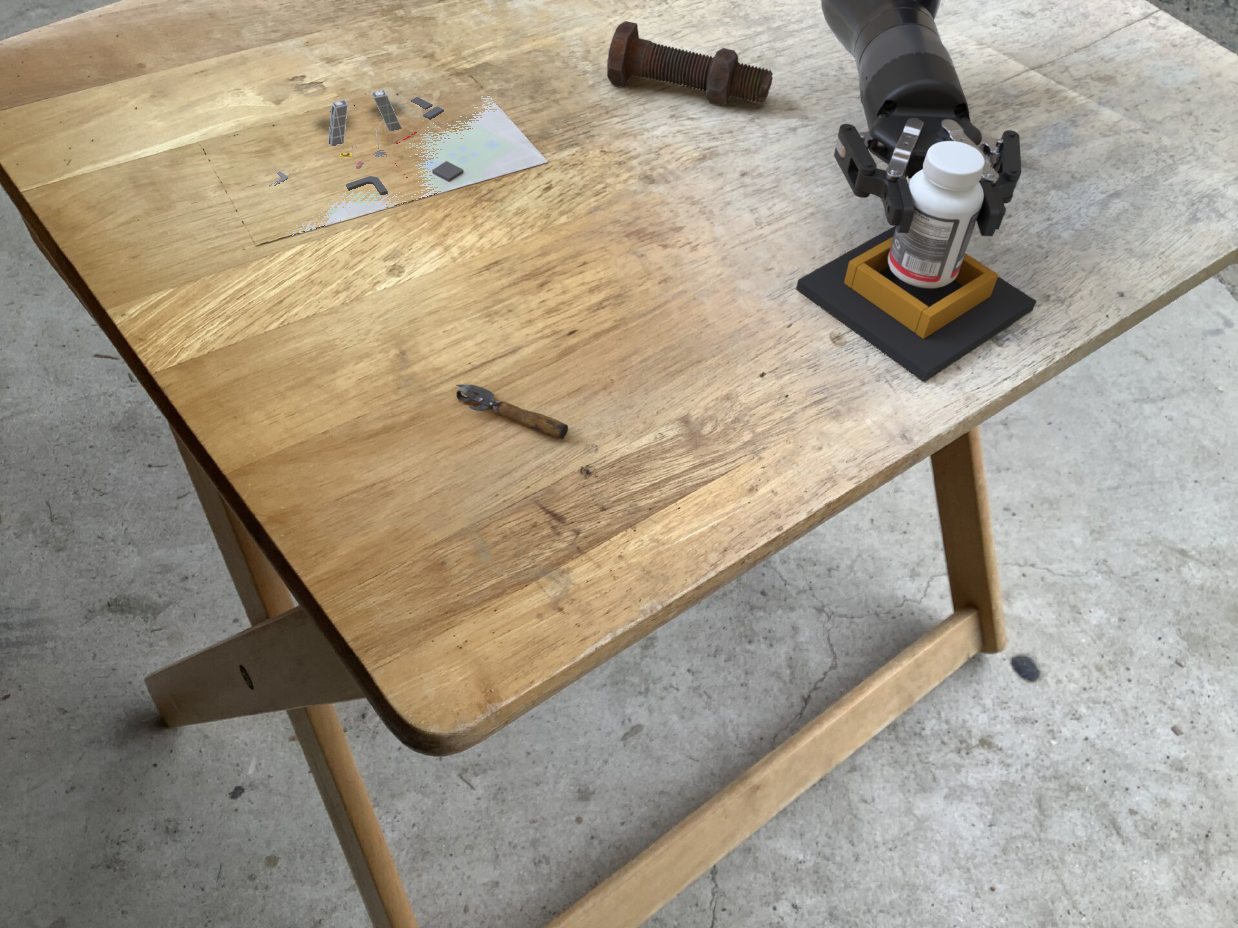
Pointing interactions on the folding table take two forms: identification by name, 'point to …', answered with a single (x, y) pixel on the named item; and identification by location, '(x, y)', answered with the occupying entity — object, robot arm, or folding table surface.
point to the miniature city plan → (458, 164)
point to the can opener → (511, 411)
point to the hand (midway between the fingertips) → (949, 224)
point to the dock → (914, 306)
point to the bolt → (685, 68)
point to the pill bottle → (939, 216)
